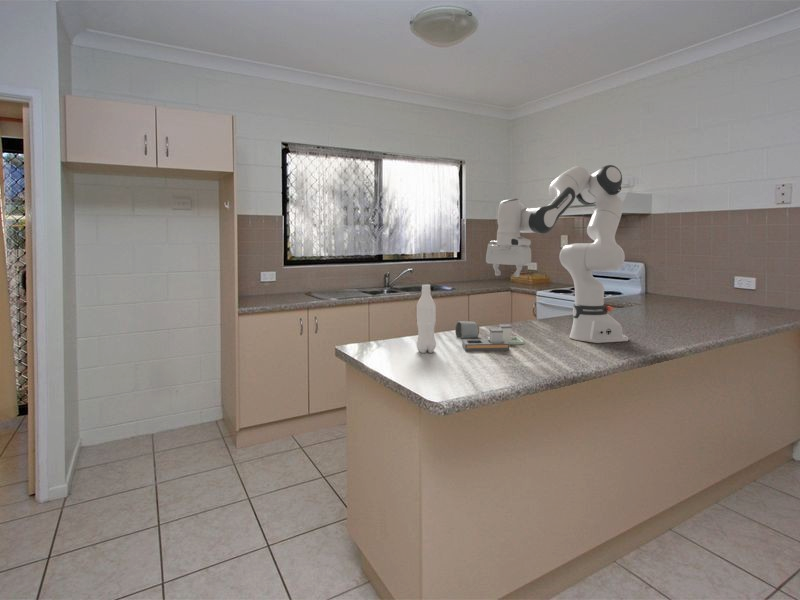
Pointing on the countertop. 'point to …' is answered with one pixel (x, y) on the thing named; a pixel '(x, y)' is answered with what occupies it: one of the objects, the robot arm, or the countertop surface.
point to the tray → (515, 342)
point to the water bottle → (426, 321)
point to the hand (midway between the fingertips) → (506, 276)
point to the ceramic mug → (466, 329)
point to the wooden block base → (484, 345)
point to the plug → (506, 332)
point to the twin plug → (496, 336)
